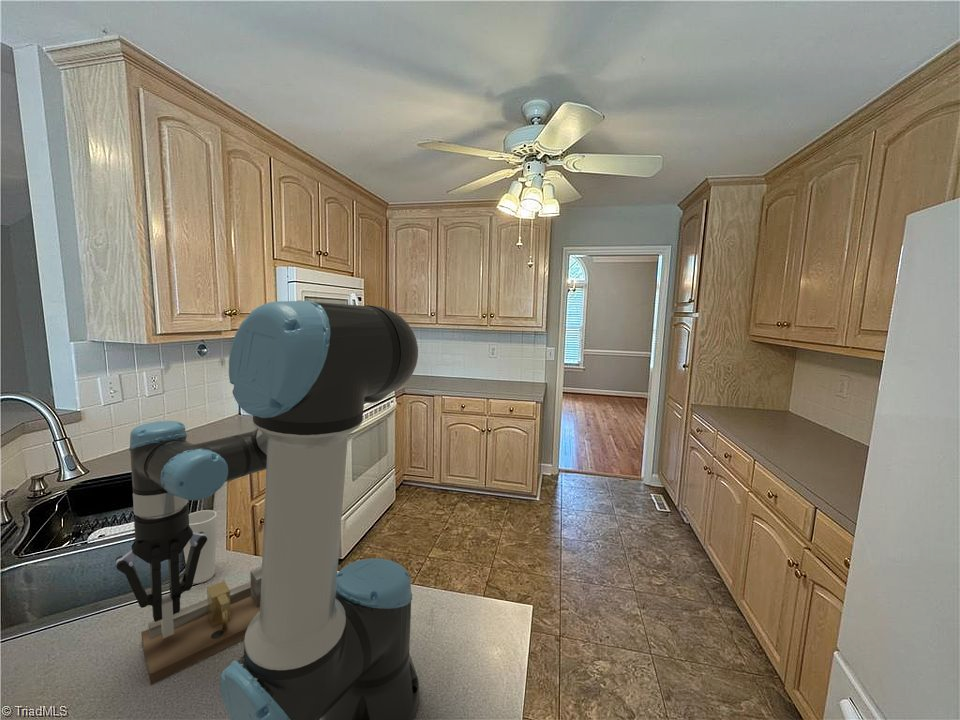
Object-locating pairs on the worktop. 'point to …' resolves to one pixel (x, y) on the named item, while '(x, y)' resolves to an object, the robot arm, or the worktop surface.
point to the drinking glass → (208, 525)
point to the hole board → (199, 632)
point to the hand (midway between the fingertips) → (167, 631)
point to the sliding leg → (219, 604)
